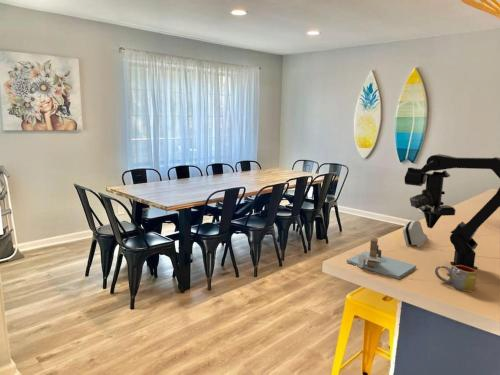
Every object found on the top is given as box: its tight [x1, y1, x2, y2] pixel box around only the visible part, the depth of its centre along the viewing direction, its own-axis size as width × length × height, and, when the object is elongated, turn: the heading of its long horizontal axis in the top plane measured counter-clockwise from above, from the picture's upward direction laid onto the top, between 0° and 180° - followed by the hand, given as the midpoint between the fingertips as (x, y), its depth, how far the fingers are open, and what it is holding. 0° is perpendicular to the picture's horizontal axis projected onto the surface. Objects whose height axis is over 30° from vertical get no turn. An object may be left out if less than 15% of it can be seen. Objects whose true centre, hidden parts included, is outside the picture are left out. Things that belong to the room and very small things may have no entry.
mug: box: [434, 264, 478, 293], centre depth 121 cm, size 12×7×7 cm, turn 49°
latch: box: [367, 237, 382, 267], centre depth 138 cm, size 14×4×8 cm, turn 154°
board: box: [346, 250, 417, 280], centre depth 137 cm, size 20×14×1 cm
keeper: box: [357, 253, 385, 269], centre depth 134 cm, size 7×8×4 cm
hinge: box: [402, 220, 429, 249], centre depth 164 cm, size 17×5×10 cm, turn 142°
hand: (429, 227), depth 143 cm, fingers closed
